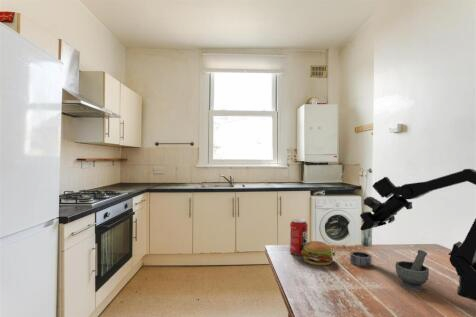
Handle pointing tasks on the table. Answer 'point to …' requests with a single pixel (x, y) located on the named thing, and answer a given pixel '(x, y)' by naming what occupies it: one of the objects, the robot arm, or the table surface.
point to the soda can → (298, 235)
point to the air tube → (366, 237)
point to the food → (317, 253)
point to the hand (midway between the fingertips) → (363, 228)
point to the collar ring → (361, 259)
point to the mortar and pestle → (413, 272)
